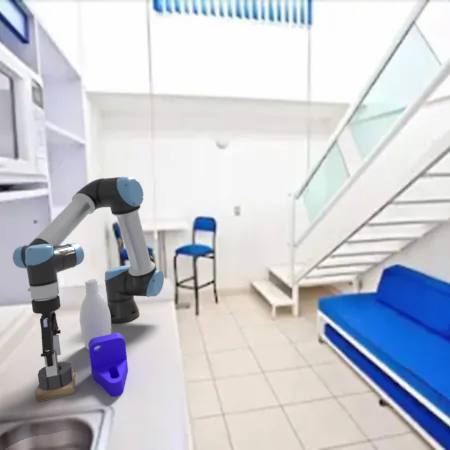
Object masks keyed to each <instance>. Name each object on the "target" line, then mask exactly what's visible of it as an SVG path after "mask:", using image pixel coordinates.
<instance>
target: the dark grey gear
mask: <svg viewBox="0 0 450 450" xmlns="http://www.w3.org/2000/svg"><path fill="white" fill-rule="evenodd" d="M58 367H59V371H57V375H55V376H50V377H47V374H46V367H45V366H43V367H42V368H40V369H39V370H38V373H37V380H38V385H39V388H40V389H44V390H53V389H58V388H61V387H64V386H65V385H67V384H68V383H70V382H71V381H72V376H73V375H72V370H73V368H72V363H71V362H67V361H58Z"/></svg>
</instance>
